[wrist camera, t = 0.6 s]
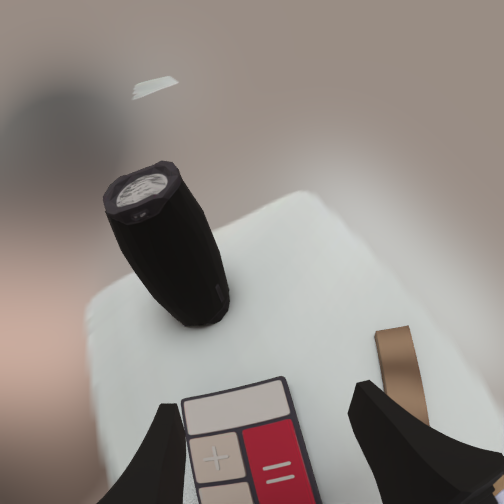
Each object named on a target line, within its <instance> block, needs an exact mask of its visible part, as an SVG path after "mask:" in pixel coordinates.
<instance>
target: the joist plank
mask: <svg viewBox="0 0 504 504" xmlns="http://www.w3.org/2000/svg"><path fill="white" fill-rule="evenodd" d="M375 341H376V346H377V351H378V357H379V362H380V368H381V374H382V380H383V386H384V393H385V394H387V395H388V396H389V397H390V398H391V399H393V400H394V401H395V402H396V403H397V404H399V405H400V406H401V407H403V408H404V409H405V410H406V411H408V412H409V413H410V414H412V415H413V416H414V417H416V418H417V419H419V420H420V421H422V422H423V423H425V424H426V425H428V426H430V425H429V419H428V412H427V406H426V401H425V395H424V390H423V385H422V380H421V375H420V370H419V366H418V361H417V357H416V353H415V349H414V344H413V340H412V336H411V333H410V329H409V326H403V327H398V328H392V329H386V330H380V331H376V333H375Z"/></svg>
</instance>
